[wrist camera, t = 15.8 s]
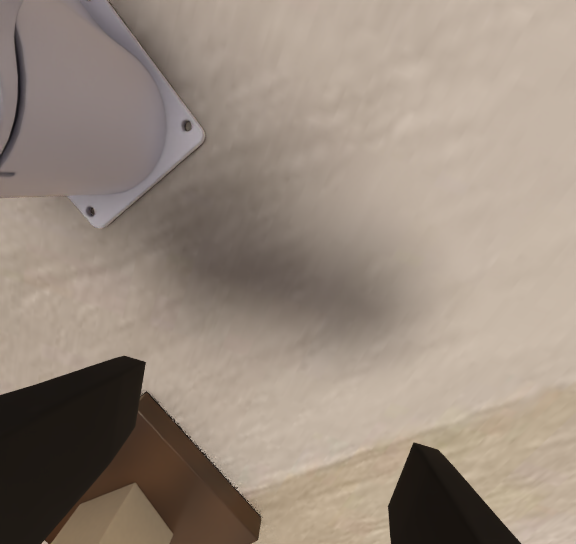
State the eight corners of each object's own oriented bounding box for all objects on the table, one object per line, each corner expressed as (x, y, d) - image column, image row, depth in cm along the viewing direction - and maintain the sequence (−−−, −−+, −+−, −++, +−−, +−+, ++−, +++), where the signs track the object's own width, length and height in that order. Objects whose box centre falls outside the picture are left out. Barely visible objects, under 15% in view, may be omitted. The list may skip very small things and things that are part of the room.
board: (18, 479, 24) (-1, 498, 22) (147, 391, 21) (134, 406, 19) (130, 586, 25) (119, 610, 24) (261, 518, 23) (258, 540, 21)
